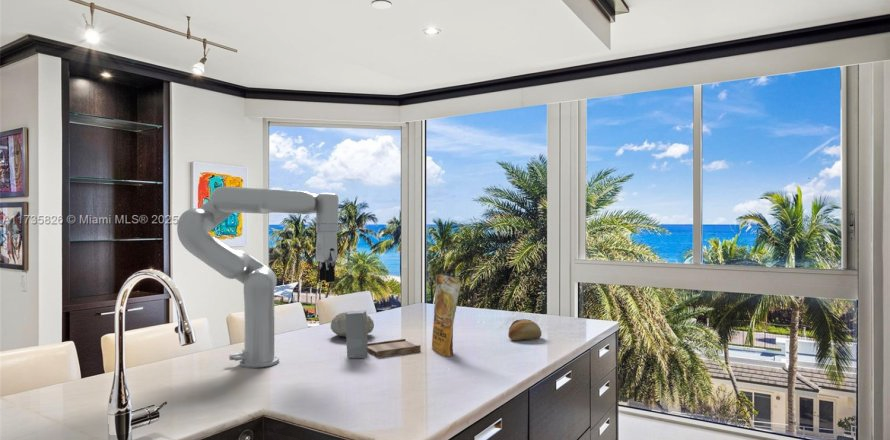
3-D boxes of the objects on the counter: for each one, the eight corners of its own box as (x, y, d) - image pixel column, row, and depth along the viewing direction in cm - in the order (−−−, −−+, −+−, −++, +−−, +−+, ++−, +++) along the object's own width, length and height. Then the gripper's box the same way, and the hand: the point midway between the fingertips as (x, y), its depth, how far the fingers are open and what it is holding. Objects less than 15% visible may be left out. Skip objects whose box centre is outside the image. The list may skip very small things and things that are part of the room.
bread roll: (502, 338, 215) (502, 319, 215) (532, 335, 222) (532, 316, 222) (515, 343, 206) (515, 323, 207) (546, 340, 213) (546, 320, 213)
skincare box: (364, 358, 183) (365, 313, 183) (344, 358, 183) (344, 313, 183) (368, 352, 191) (368, 309, 191) (348, 352, 191) (349, 309, 191)
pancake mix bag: (443, 345, 203) (443, 273, 203) (462, 356, 185) (463, 278, 186) (426, 346, 201) (427, 273, 201) (445, 358, 183) (445, 278, 183)
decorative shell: (382, 335, 220) (382, 311, 221) (353, 343, 205) (354, 318, 205) (350, 330, 230) (350, 307, 230) (321, 338, 215) (321, 313, 215)
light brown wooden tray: (378, 357, 184) (378, 351, 184) (363, 349, 195) (364, 343, 195) (420, 351, 193) (420, 345, 193) (404, 344, 204) (404, 338, 204)
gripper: (309, 228, 187) (309, 279, 187) (324, 229, 172) (324, 284, 172) (329, 228, 191) (329, 278, 191) (346, 229, 176) (346, 282, 176)
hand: (327, 280), depth 181 cm, fingers open, 5 cm apart
